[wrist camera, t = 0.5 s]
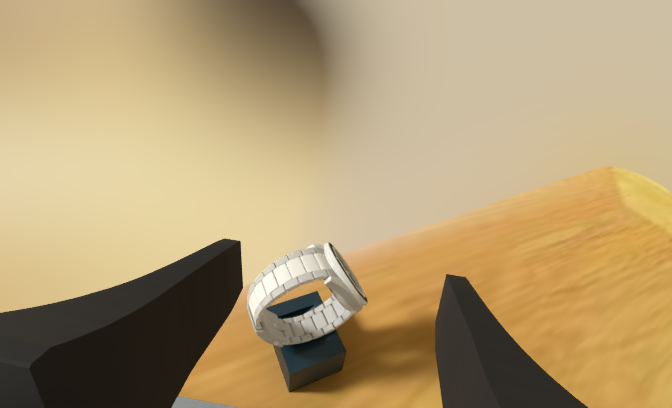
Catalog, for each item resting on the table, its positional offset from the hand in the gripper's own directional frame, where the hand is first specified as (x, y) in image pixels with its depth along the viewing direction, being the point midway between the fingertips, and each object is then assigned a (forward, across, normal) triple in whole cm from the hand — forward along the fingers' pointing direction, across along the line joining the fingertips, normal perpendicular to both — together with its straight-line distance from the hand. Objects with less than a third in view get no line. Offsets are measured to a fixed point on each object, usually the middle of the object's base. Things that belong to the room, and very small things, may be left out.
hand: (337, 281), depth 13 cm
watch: (+11, +4, +16) cm, 20 cm away
